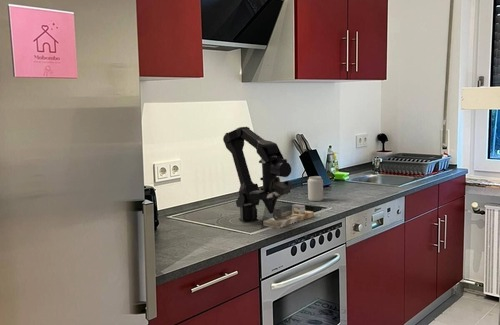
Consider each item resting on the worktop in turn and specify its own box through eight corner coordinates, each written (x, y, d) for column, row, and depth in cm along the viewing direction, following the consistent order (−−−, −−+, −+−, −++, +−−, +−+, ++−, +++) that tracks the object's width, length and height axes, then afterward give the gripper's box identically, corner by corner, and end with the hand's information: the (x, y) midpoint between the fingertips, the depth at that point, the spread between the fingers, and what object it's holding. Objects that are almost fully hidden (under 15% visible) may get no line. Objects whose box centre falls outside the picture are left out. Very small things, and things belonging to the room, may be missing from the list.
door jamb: (278, 228, 194) (278, 223, 193) (263, 225, 199) (263, 220, 199) (313, 216, 211) (313, 211, 211) (298, 214, 217) (298, 209, 216)
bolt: (278, 220, 197) (278, 208, 197) (272, 219, 199) (272, 208, 199) (293, 215, 205) (293, 204, 204) (287, 214, 207) (287, 203, 206)
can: (325, 199, 247) (325, 175, 245) (319, 202, 240) (319, 178, 239) (311, 198, 251) (311, 175, 249) (305, 201, 244) (305, 177, 243)
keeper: (300, 214, 207) (300, 206, 207) (291, 213, 210) (291, 205, 210) (305, 213, 209) (304, 205, 209) (296, 211, 212) (295, 204, 212)
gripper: (269, 179, 182) (271, 220, 184) (300, 173, 196) (301, 211, 197) (247, 177, 190) (249, 217, 191) (278, 171, 203) (279, 208, 205)
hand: (271, 213), depth 196 cm, fingers closed
